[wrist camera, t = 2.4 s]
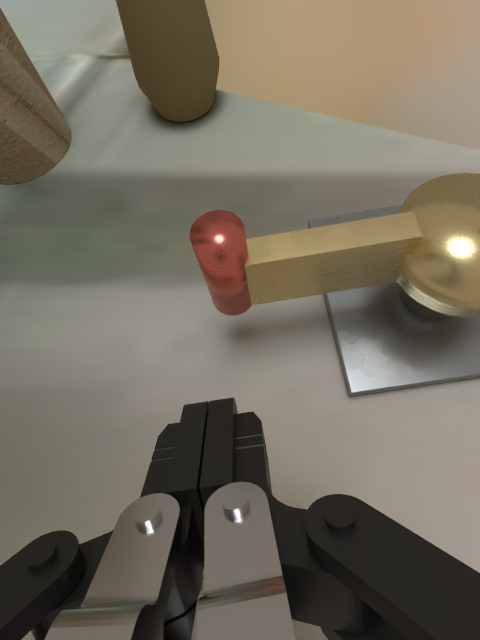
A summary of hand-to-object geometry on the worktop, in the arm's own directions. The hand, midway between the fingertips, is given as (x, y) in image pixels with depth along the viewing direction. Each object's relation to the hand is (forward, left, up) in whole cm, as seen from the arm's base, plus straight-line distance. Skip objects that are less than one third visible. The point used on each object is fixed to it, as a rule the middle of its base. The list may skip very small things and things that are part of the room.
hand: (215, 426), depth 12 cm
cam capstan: (+9, +9, -10) cm, 16 cm away
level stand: (+14, +10, -15) cm, 23 cm away
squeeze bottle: (-2, +35, -15) cm, 39 cm away
